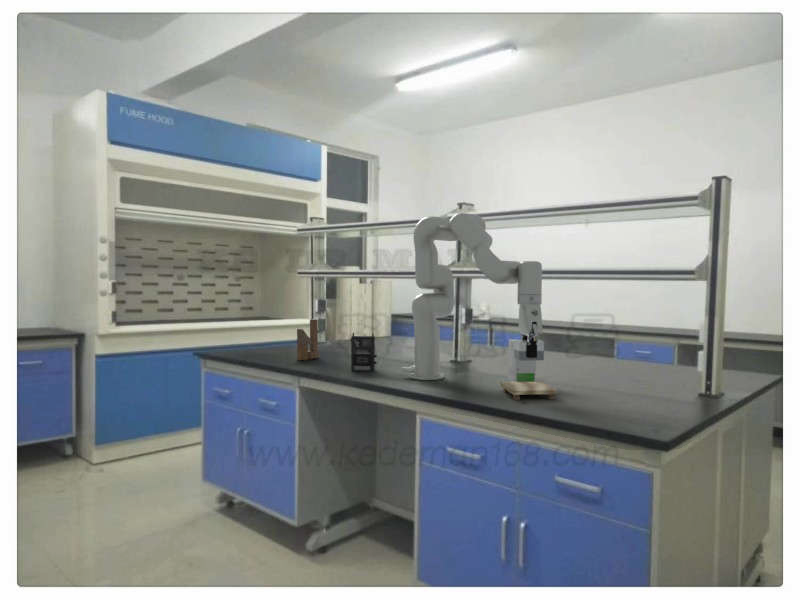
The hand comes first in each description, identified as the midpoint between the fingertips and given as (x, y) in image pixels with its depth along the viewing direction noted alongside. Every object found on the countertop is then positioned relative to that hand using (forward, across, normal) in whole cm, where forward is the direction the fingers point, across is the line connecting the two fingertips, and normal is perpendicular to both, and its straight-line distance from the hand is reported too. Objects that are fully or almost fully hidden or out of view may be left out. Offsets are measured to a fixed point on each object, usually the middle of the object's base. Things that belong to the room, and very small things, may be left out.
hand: (528, 355), depth 180 cm
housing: (+1, 0, 0) cm, 1 cm away
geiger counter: (+13, +51, +51) cm, 73 cm away
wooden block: (+12, +82, +75) cm, 112 cm away
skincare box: (+13, +19, -4) cm, 23 cm away
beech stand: (+13, 0, 0) cm, 13 cm away
